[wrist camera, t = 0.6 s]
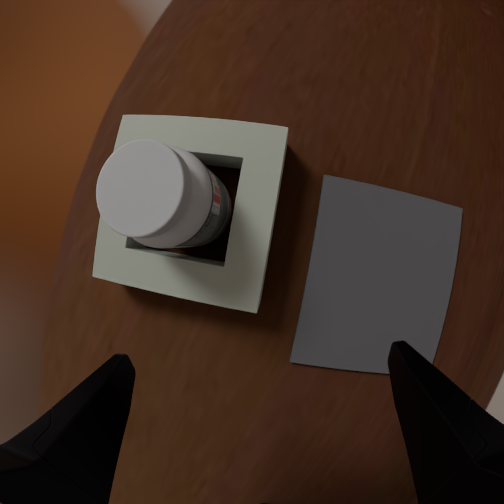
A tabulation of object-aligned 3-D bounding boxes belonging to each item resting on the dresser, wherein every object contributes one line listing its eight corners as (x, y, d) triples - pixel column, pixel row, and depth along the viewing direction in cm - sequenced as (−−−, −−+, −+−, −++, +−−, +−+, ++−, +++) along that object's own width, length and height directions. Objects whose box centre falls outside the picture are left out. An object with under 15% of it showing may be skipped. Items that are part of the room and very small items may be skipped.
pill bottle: (224, 164, 23) (187, 112, 13) (239, 238, 23) (209, 234, 13) (154, 183, 23) (83, 149, 14) (167, 253, 23) (96, 260, 14)
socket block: (260, 303, 23) (256, 313, 19) (115, 272, 24) (92, 276, 20) (287, 143, 22) (288, 127, 19) (141, 129, 23) (123, 114, 20)
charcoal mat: (425, 373, 22) (428, 376, 21) (289, 359, 23) (289, 362, 22) (459, 209, 21) (462, 208, 21) (323, 176, 22) (324, 174, 22)
